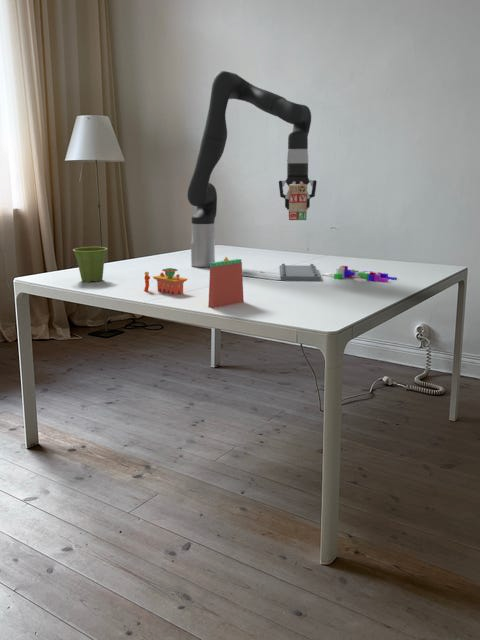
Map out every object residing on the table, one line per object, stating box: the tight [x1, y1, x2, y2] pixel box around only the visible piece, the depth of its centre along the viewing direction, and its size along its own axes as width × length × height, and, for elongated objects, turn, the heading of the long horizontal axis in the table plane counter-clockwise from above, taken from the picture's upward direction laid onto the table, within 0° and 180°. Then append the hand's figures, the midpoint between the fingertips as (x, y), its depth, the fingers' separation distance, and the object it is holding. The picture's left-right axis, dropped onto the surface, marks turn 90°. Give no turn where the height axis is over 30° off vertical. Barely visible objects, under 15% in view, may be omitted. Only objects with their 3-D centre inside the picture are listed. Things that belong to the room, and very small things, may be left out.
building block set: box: [321, 265, 398, 283], centre depth 232 cm, size 25×20×4 cm
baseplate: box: [279, 263, 321, 282], centre depth 236 cm, size 14×26×2 cm, turn 177°
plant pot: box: [72, 246, 108, 283], centre depth 222 cm, size 12×12×11 cm
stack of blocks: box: [287, 184, 308, 221], centre depth 230 cm, size 21×6×12 cm, turn 177°
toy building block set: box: [143, 256, 245, 309], centre depth 195 cm, size 12×35×14 cm, turn 45°
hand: (297, 209), depth 231 cm, fingers closed on stack of blocks, 6 cm apart
